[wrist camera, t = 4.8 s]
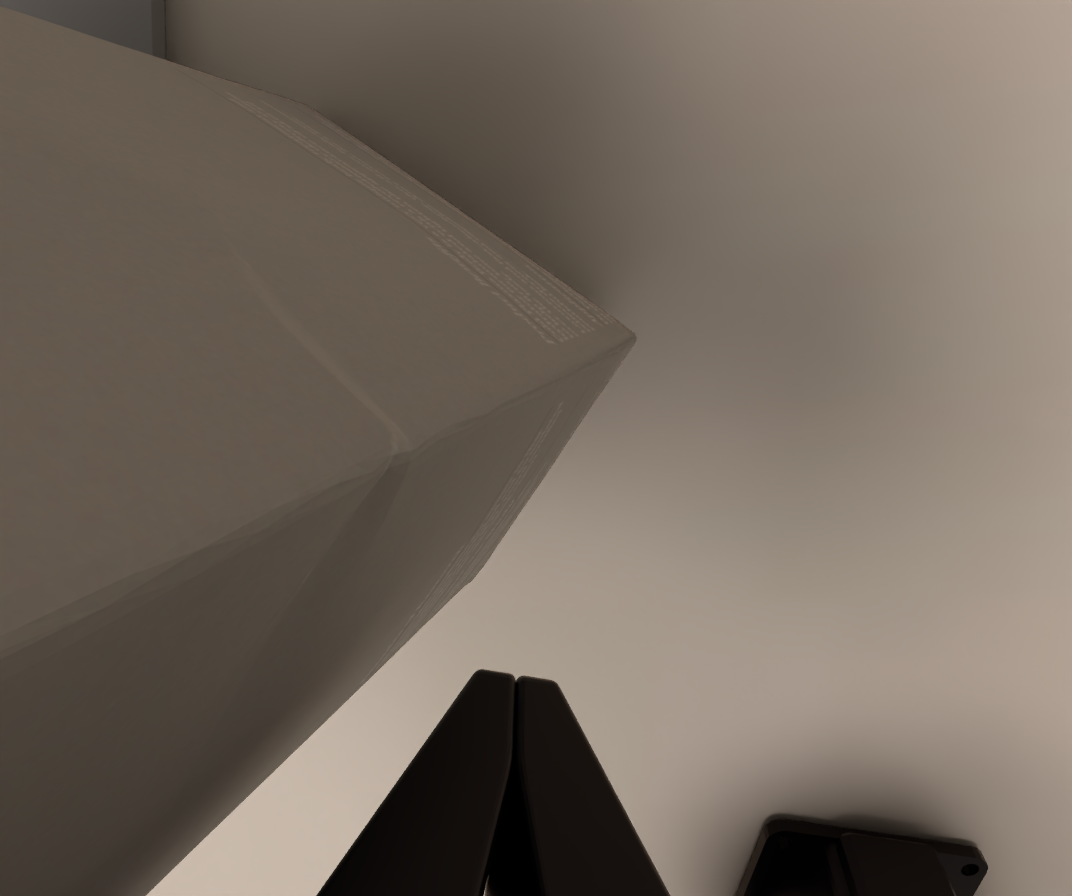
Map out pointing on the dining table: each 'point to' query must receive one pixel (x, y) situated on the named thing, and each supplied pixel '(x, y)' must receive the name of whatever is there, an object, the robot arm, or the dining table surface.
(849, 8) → the dining table surface
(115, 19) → the mat
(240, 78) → the dining table surface
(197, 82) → the skincare box
